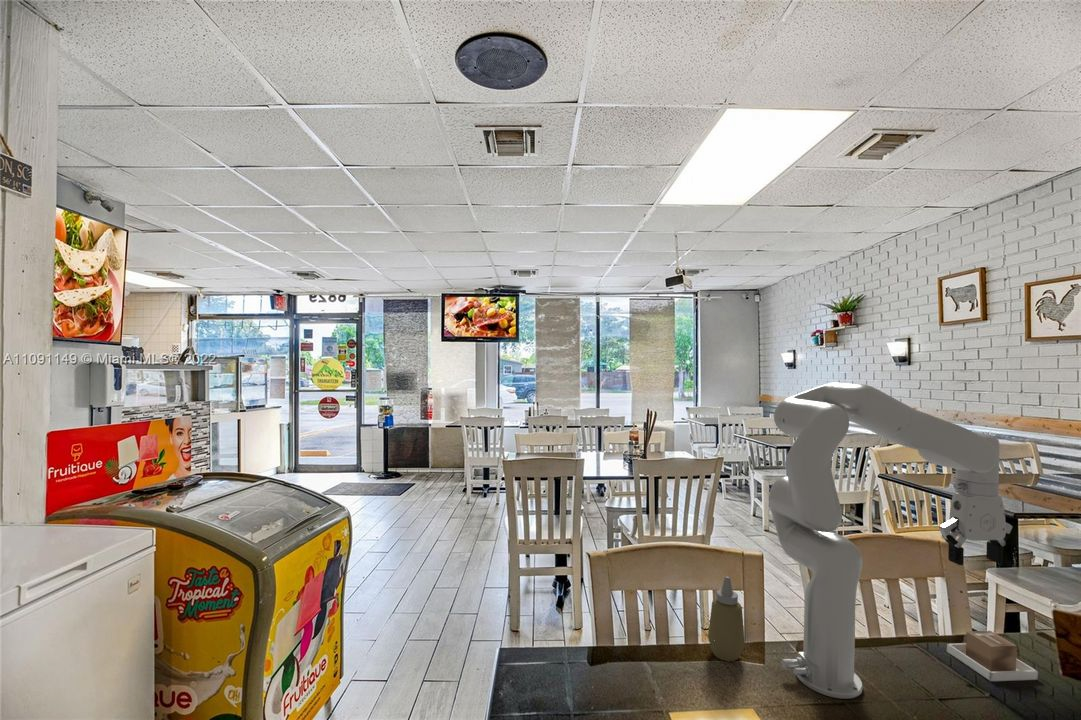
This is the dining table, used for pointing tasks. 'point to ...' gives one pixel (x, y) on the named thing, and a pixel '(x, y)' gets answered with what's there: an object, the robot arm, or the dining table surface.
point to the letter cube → (991, 650)
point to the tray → (1021, 671)
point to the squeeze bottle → (726, 624)
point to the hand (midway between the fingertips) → (975, 562)
